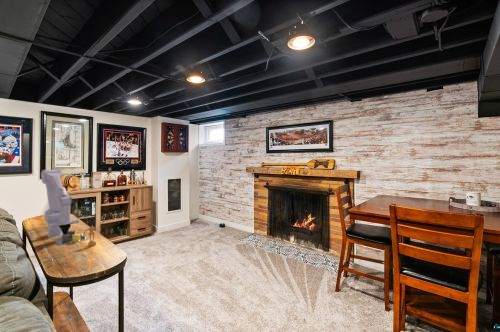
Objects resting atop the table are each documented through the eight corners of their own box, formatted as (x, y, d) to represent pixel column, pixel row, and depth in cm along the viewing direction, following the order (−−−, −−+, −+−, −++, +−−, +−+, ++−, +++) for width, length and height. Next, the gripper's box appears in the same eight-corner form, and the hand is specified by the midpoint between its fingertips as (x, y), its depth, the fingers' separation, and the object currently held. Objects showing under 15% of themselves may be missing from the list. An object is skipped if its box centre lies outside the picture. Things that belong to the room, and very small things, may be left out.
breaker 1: (61, 241, 146) (61, 235, 146) (68, 239, 148) (68, 234, 148) (62, 242, 144) (62, 236, 144) (69, 240, 147) (69, 235, 146)
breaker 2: (67, 236, 154) (67, 230, 154) (73, 235, 157) (73, 229, 157) (68, 237, 152) (68, 231, 152) (75, 236, 155) (75, 230, 155)
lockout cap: (71, 241, 147) (71, 234, 147) (79, 239, 150) (79, 233, 150) (73, 242, 144) (73, 236, 144) (81, 241, 147) (81, 234, 147)
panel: (52, 240, 150) (52, 236, 150) (80, 235, 162) (80, 231, 161) (58, 248, 139) (58, 243, 139) (89, 241, 150) (88, 236, 150)
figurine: (84, 249, 137) (83, 229, 136) (82, 246, 141) (82, 226, 141) (101, 246, 142) (100, 226, 142) (99, 243, 147) (99, 224, 146)
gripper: (51, 218, 143) (51, 240, 144) (80, 214, 154) (80, 235, 155) (48, 216, 148) (49, 238, 148) (77, 212, 159) (77, 232, 159)
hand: (65, 236), depth 152 cm, fingers closed
